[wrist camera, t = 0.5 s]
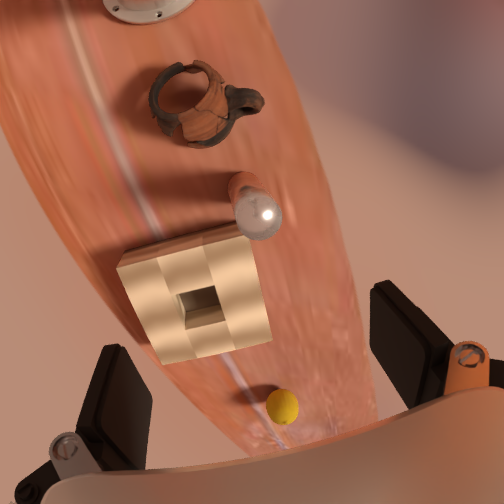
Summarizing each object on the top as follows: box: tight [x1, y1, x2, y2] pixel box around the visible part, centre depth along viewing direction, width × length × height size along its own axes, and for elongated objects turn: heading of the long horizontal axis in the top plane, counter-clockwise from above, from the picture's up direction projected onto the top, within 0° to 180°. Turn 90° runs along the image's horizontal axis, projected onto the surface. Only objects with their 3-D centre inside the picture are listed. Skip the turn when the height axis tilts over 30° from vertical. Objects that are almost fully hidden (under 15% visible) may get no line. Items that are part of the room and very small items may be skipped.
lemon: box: [266, 389, 298, 425], centre depth 51 cm, size 6×6×8 cm
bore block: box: [116, 222, 273, 365], centre depth 41 cm, size 16×16×5 cm
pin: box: [228, 172, 282, 240], centre depth 33 cm, size 4×4×12 cm
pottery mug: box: [148, 60, 265, 149], centre depth 32 cm, size 12×10×8 cm
